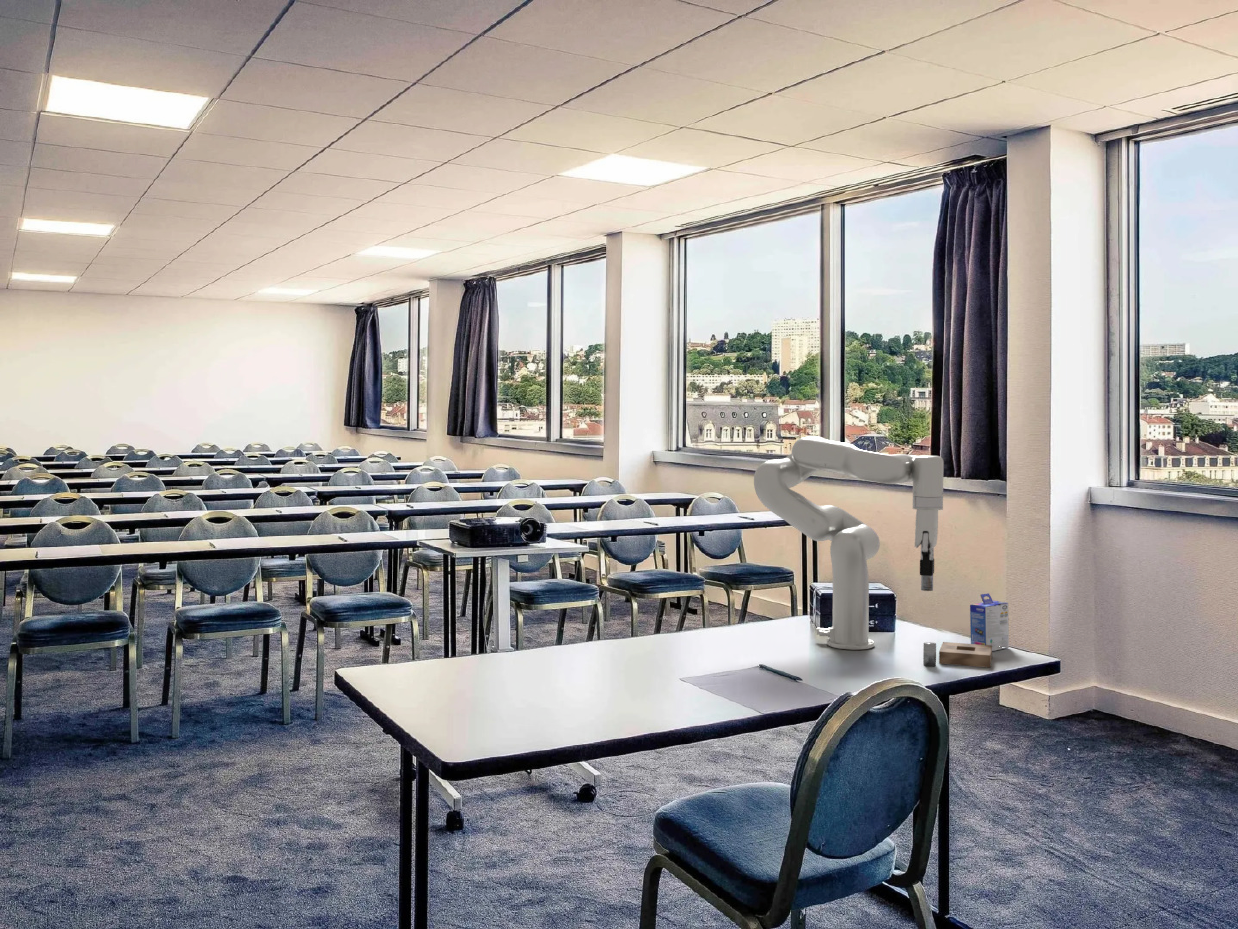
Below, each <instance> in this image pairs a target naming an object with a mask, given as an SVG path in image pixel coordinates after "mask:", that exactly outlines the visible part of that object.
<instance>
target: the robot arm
mask: <svg viewBox="0 0 1238 929" xmlns="http://www.w3.org/2000/svg"><path fill="white" fill-rule="evenodd" d="M818 471H823V472H829V473H833V474H839V475H844V476H847V477H852V478H856V479H860V480H864V481H869V482H875V483H880V484H885V485H886V484H888V485H896V484H902V483H908V482H909V483H910V482H912V509H913V510H916V513H915V523H914V524H915V527H914V528H915V529H914V547H915V548H916V549H918V548H919V547H920V559H919V576H921V575H924V576H932V575H933V576H934V574H935V558H934V555H935V554H934V552H935V551H934V552H933V560H932V548H934V549H935V547H936V546H937V544H938V543H937V542H938V532H939V531H938V530H939V529H938V528H939V511H941V510H942V511H943V510H944V458H943V457H941V456H939V455H913V454H905V453H898V454H897V453H895V454H886V453H881V452H880V453H879V452H874V451H868V450H863V449H860V448H858V447H857V446H855V444H852V443H848V442H841V441H835V440H830V439H827V438H825V437H823V436H817V435H816V436H804V437H800V438H799V439H797V440H795V442H794V443H793V445H792V447H791V453H790V454H789V455H787V456H786V457H784V458H780V459H779V458H778V459H777V458H776V459H769V460H766V461H764V462H762V463H761V464H759V465H758V466H757V468H756V469H755V472H754V475H753V486H754V487H753V488H754V491H755V494H756V496H757V498H758V500H759V502H761V503H762V505H763V506H764V507H765V508H767V510H769V511H770V512H772V513H773V514H774V515H776V516H777V517H779V518H781V519H782V520H783V521H785V522H786V523H787V524H789V525H790V526H792V527H794V528H795V529H796V530H797V531H799V532H801V533H802V534H803V535H805V536H806V537H807V538H809V539H810V540H812V541H815V542H825V541H830V542H831V543H830V546H829V547H830V551H829V552H830V553H829V554H830V560H831V570H832V626H831V627H828V628H824V627H817V628H816V632H815V633H816V635H817V636H819V637H828V638H827V639H826V645H827V646H829V647H832V648H834V649H841V650H848V651H849V650H855V651H856V650H857V651H859V650H860V651H861V650H867V649H872V648H874V647H875V641H874V640H873V639H871V638H869V630H870V629H869V628H870V626H869V623H870V622H869V619H870V616H869V612H870V609H869V608H870V598H869V597H870V595H869V594H870V585H869V584H870V579H869V577H870V576H869V570H868V569H869V568H868V564H867V560H870V559H871V558H873V557H875V555H877V553H878V552H879V550H880V545H881V541H880V537H879V535H878V533H877V532H876V531H875V530H874V529H873V528H872V527H870V526H869V525H868V524H866V523H865V522H863V521H861V520H860V519H858V518H856V516H854V515H853V514H850V513H849V512H848V511H846V510H844V509H843V508H841V507H838V506H836V505H832V504H826V505H819V504H816V503H815V502H813V501H812V500H810V499H808V498H807V497H805V496H804V495H803V494H801V493H798V492H797V491H795V490H792V489H791V488H794V487H796V486H798V485H799V484H801V483H802V482H803V481H805V480H806V479H808V478H809V477H811V476H812V475H814V474H816V473H817V472H818ZM928 546H930V548H928ZM928 550H930V552H929V551H928Z"/></svg>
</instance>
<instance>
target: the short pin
mask: <svg viewBox="0 0 1238 929" xmlns="http://www.w3.org/2000/svg"><path fill="white" fill-rule="evenodd" d="M922 649H923V658H922V659H923V664H922V665H923V667H928V668H935V667H936V666H937V643H936V642H931V641H925V642H923V648H922Z"/></svg>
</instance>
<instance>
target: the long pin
mask: <svg viewBox="0 0 1238 929" xmlns="http://www.w3.org/2000/svg"><path fill="white" fill-rule="evenodd" d="M928 548H930V546H928ZM934 549H935V547H934V548H932V560H933V552H935V550H934ZM928 551H929V552H930V550H928ZM920 591H924V592H932V591H934V574H933V575H932V576H924V575H920Z"/></svg>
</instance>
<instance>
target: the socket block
mask: <svg viewBox="0 0 1238 929" xmlns="http://www.w3.org/2000/svg"><path fill="white" fill-rule="evenodd" d="M992 659H993V651H992V645H978V644H971V643H962V642H961V643H960V642H949V641H948V642H947V641H942V644H941V646H940V649H939V653H938V664H942V665H952V666H953V665H956V666H965V667H978V668H979V667H982V668H991V665H992Z"/></svg>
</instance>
